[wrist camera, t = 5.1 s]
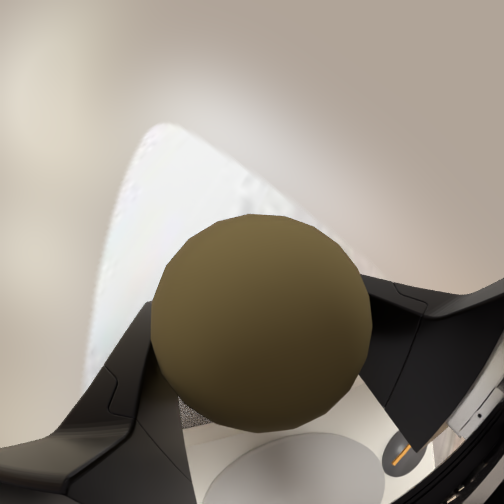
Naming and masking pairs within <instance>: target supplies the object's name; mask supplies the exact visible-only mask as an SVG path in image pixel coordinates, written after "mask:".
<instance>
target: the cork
mask: <svg viewBox="0 0 504 504" xmlns="http://www.w3.org/2000/svg"><path fill="white" fill-rule="evenodd" d="M371 332H372V316H371V308H370V300H369V295H368V292H367V290H366V287H365V285H364V282H363V280H362V278H361V275H360V273H359V271H358V268H357V267H356V266H355V264H354V263H353V262H352V261H351V259H350V258H349V257H348V256H347V254H346V253H345V252H344V251H343V249H342V248H341V247H340V246H339V244H337V243H336V242H334V241H333V240H332V239H330V238H329V237H328V236H326V235H325V234H323V233H322V232H321V231H319V230H318V229H316V228H315V227H313V226H310V225H308V224H305V223H302V222H299V221H297V220H294V219H291V218H288V217H285V216H274V215H257V214H247V215H243V216H239V217H234V218H230V219H226V220H222V221H218V222H216V223H214V224H213V225H211V226H209V227H208V228H206V229H204V230H203V231H201V232H199V233H198V234H196V235H195V236H193V237H191V238H190V239H188V241H187V242H186V243H185V244H184V245H183V246H182V248H181V249H180V250H179V251H178V252H177V253H176V255H175V256H174V257H173V258H172V259H171V261H170V262H169V263H168V264H167V265H166V267H165V270H164V272H163V275H162V277H161V280H160V282H159V285H158V287H157V290H156V293H155V295H154V298H153V301H152V306H151V342H152V345H153V349H154V352H155V355H156V358H157V361H158V364H159V367H160V370H161V373H162V375H163V376H164V378H165V379H166V380H167V382H168V383H169V384H170V386H171V387H172V388H173V390H174V391H175V392H176V393H177V395H178V396H179V397H180V399H181V400H182V401H183V402H184V404H186V405H187V406H189V407H190V408H192V409H193V410H195V411H196V412H198V413H199V414H201V415H202V416H204V417H206V418H207V419H209V420H210V421H212V422H214V423H215V424H218V425H222V426H226V427H230V428H234V429H238V430H243V431H247V432H252V433H267V432H276V431H284V430H291V429H295V428H298V427H300V426H302V425H304V424H306V423H308V422H310V421H312V420H314V419H317V418H319V417H321V416H322V415H324V414H326V413H327V412H328V411H329V410H330V409H331V408H332V407H334V406H335V405H336V404H337V403H338V402H339V401H340V400H341V399H342V398H343V397H344V396H345V395H346V394H347V393H348V392H349V391H350V389H351V387H352V386H353V384H354V382H355V380H356V378H357V376H358V374H359V372H360V371H361V369H362V367H363V365H364V363H365V361H366V358H367V355H368V349H369V344H370V338H371Z"/></svg>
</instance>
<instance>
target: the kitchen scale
mask: <svg viewBox="0 0 504 504" xmlns="http://www.w3.org/2000/svg"><path fill="white" fill-rule="evenodd" d="M183 436H184V442H185V448H186V453H187V459H188V464H189V469H190V474H191V479H192V484H193V488H194V492H195V496H196V501H197V504H390V503H391V502H393V501H394V500H396V499H397V498H398V497H400V496H401V495H403V494H404V493H405V492H407V491H408V490H410V489H411V488H412V487H413V486H415V485H416V484H417V483H419V482H420V481H421V480H422V479H424V478H425V477H426V476H427V475H428V474H430V473H431V472H432V471H433V470H434V469H435V463H434V453H433V444H432V442H430V443H429V444H428V445H427V446H426V447H424V448H423V449H422V450H421V451H419V452H418V453H416V452H415V451H414V450H413V449H412V447H411V446H410V445H409V443H408V442H407V441H406V439H405V438H404V436H403V435H402V434H401V432H400V431H399V429H398V428H397V427H396V425H395V424H394V423H393V421H392V420H391V418H390V417H389V416H388V414H387V413H386V412H385V410H384V408H383V407H382V406H381V405H380V403H379V402H378V400H377V399H376V398H375V396H374V395H373V394H372V392H371V391H370V390H369V388H368V387H367V386H366V384H365V383H364V381H363V380H362V379H361V377H360V376H359V375H358V376H357V378H356V380H355V382H354V384H353V386H352V387H351V389H350V391H349V392H348V393H347V394H346V395H345V396H344V397H343V398H342V399H341V400H340V401H339V402H338V403H337V404H336V405H335V406H334V407H332V408H331V409H330V410H329V411H328V412H327V413H326V414H324V415H322V416H321V417H319V418H317V419H314V420H312V421H310V422H308V423H306V424H304V425H302V426H300V427H298V428H295V429H291V430H284V431H276V432H267V433H252V432H247V431H243V430H238V429H234V428H230V427H226V426H222V425H218V424H215V423H214V422H212V423H208V424H204V425H199V426H195V427H190V428H186V429H183Z"/></svg>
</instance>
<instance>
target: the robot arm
mask: <svg viewBox="0 0 504 504" xmlns="http://www.w3.org/2000/svg"><path fill="white" fill-rule="evenodd" d="M360 275H361V278H362V280H363V282H364V285H365V287H366V290H367V292H368V295H369V300H370V308H371V316H372V332H371V338H370V344H369V349H368V355H367V358H366V361H365V363H364V365H363V367H362V369H361V371H360V372H359V374H358V375H359V376H360V377H361V379H362V380H363V381H364V383H365V384H366V386H367V387H368V388H369V390H370V391H371V392H372V394H373V395H374V396H375V398H376V399H377V400H378V402H379V403H380V405H381V406H382V407H383V408H384V410H385V412H386V413H387V414H388V416H389V417H390V418H391V420H392V421H393V423H394V424H395V425H396V427H397V428H398V429H399V431H400V432H401V434H402V435H403V436H404V438H405V439H406V441H407V442H408V443H409V445H410V446H411V447H412V449H413V450H414V451H415V452H416V453H418V452H419V451H421V450H422V449H423V448H424V447H426V446H427V445H428V444H429V443H430V442H432V441H433V440H434V439H435V438H436V437H437V436H438V435H440V434H441V433H442V432H443V431H444V430H445V429H446V428H447V427H448V426H449V427H450V428H451V429H452V430H453V431H454V432H455V433H456V434H457V435H458V436H459V437H460V438H461V437H463V438H464V439H465V441H464V442H463V443H462V444H461V445H460V446H459V447H458V448H457V449H456V450H455V451H454V452H453V453H452V454H451V455H450V456H449V457H448V458H447V459H446V460H444V461H443V462H442V463H441V464H440V465H439V466H438V467H437V468H435V469H434V470H433V471H432V472H431V473H430V474H428V475H427V476H426V477H425V478H424V479H422V480H421V481H420V482H419V483H417V484H416V485H415V486H413V487H412V488H411V489H410V490H408V491H407V492H405V493H404V494H403V495H401V496H400V497H398V498H397V499H396V500H394V501H393V502H391V503H390V504H447V501H448V500H450V499H451V498H453V497H454V496H456V497H457V498H455V499H454V500H452V501H451V502H449V503H448V504H504V278H503V279H501V280H499V281H497V282H495V283H493V284H491V285H489V286H487V287H485V288H483V289H481V290H479V291H476V292H474V293H471V294H467V295H457V294H450V293H445V292H439V291H434V290H428V289H423V288H417V287H412V286H407V285H404V284H399V283H395V282H394V283H393V282H391V281H387V280H383V279H379V278H374V277H370V276H366V275H362V274H360ZM151 306H152V301H149V302H146V303H145V304H144V306H143V307H142V309H141V310H140V312H139V313H138V314H137V316H136V317H135V319H134V320H133V322H132V323H131V325H130V326H129V327H128V329H127V330H126V332H125V333H124V335H123V336H122V338H121V339H120V341H119V342H118V344H117V345H116V347H115V348H114V350H113V351H112V353H111V354H110V356H109V357H108V359H107V361H106V362H105V364H104V366H103V367H102V368H101V370H100V371H99V373H98V374H97V376H96V377H95V379H94V380H93V382H92V383H91V385H90V386H89V388H88V389H87V390H86V392H85V393H84V394H83V396H82V397H81V398H80V400H79V401H78V402H77V404H76V405H75V406H74V408H73V409H72V410H71V411H70V413H69V414H68V415H67V417H66V418H65V419H64V421H63V422H62V423H61V425H60V426H59V427H58V428H57V429H56V430H55V431H54V432H53V433H52V434H50V435H49V436H47V437H45V438H42V439H39V440H35V441H31V442H27V443H23V444H18V445H14V446H9V447H4V448H0V504H197V501H196V496H195V492H194V488H193V484H192V479H191V474H190V469H189V464H188V459H187V453H186V448H185V442H184V436H183V429H182V423H181V416H180V409H179V401H178V395H177V393H176V392H175V391H174V390H173V388H172V387H171V386H170V384H169V383H168V382H167V380H166V379H165V378H164V376H163V375H162V373H161V370H160V367H159V364H158V361H157V358H156V355H155V352H154V349H153V345H152V342H151ZM462 487H464V488H463V489H462V490H460V489H461V488H462ZM458 490H460V491H458Z"/></svg>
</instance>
